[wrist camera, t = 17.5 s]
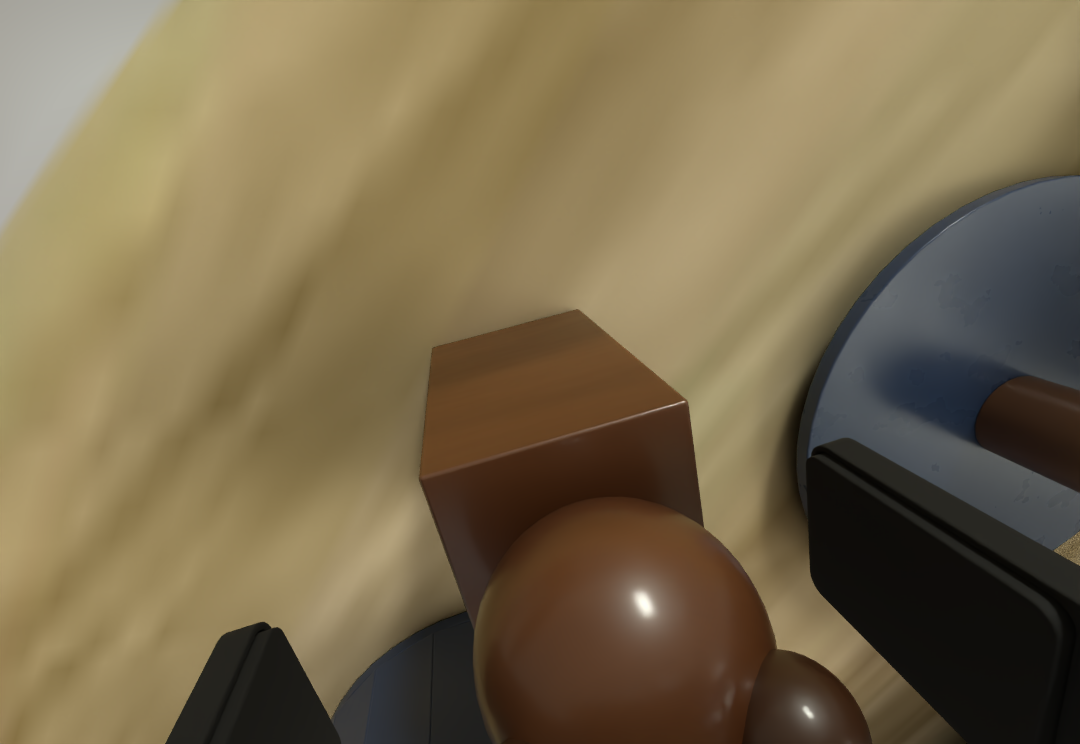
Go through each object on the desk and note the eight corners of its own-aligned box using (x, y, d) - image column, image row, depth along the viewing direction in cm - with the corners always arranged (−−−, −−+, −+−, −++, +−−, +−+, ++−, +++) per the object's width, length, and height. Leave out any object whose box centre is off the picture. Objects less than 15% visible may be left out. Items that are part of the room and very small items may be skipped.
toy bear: (431, 347, 15) (385, 780, 4) (578, 308, 15) (926, 596, 4) (475, 486, 17) (531, 1058, 6) (606, 448, 17) (902, 910, 6)
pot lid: (773, 242, 16) (963, 267, 10) (1209, 127, 17) (1597, 90, 11) (793, 620, 21) (921, 776, 16) (1118, 511, 23) (1345, 616, 17)
